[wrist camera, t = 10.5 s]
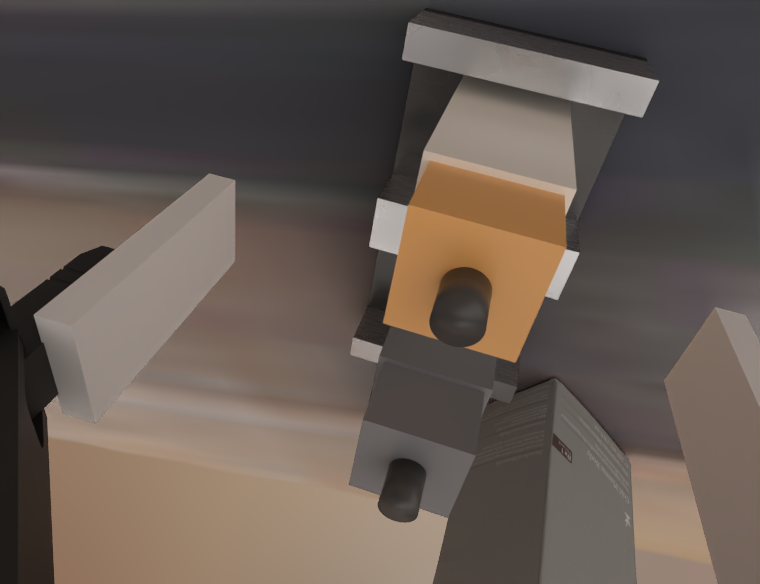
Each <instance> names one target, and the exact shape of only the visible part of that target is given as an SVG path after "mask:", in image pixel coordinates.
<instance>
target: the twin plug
mask: <svg viewBox="0 0 760 584" xmlns="http://www.w3.org/2000/svg"><path fill="white" fill-rule="evenodd" d="M496 362H497V357H495V356H491V355H488V354H484V353H481V352H478V351H474V350H471V349H468V348H464V347H453V346H450V345H447V344H445V343H443V342H441V341H440V340H437V339H434V338H431V337H427V336H424V335H421V334H417V333H414V332H411V331H407V330H404V329H401V328H397V327H394V326H391V327H390V329H389V332H388V335H387V337H386V340H385V342H384V345H383V347H382V350H381V353H380V355H379V359H378V364H377V368H376V373H375V377H374V382H373V386H372V391H371V395H370V400H369V404H368V408H367V410H366V413H365V416H364V418H363V422H362V427H361V431H360V436H359V440H358V445H357V449H356V454H355V459H354V463H353V468H352V472H351V477H350V482H349V485H351V486H354V487H357V488H360V489H363V490H366V491H369V492H372V493H375V494H378V495H380V498H379V502H378V508H379V510H380V512H381V513H382V514H383V515H384V516H386V517H387V518H389V519H391V520H394V521H398V522H411V521H414V520H415V519H416V518H417V516H418V512H419V508H420V509H423V510H426V511H429V512H432V513H435V514H438V515H441V516H444V517H447V518H448V517H449V514H450V512H451V510H452V508H453V505H454V503H455V501H456V499H457V496H458V494H459V492H460V490H461V487H462V485H463V483H464V481H465V478H466V476H467V474H468V472H469V469H470V467H471V465H472V463H473V460H474V458H475V456H476V450H477V443H478V436H479V429H480V422H481V417H482V415H483V412H484V410H485V408H486V405H487V403H488V401H489V398H490V396H491V394H492V391H493V386H494V378H495V370H496Z"/></svg>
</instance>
